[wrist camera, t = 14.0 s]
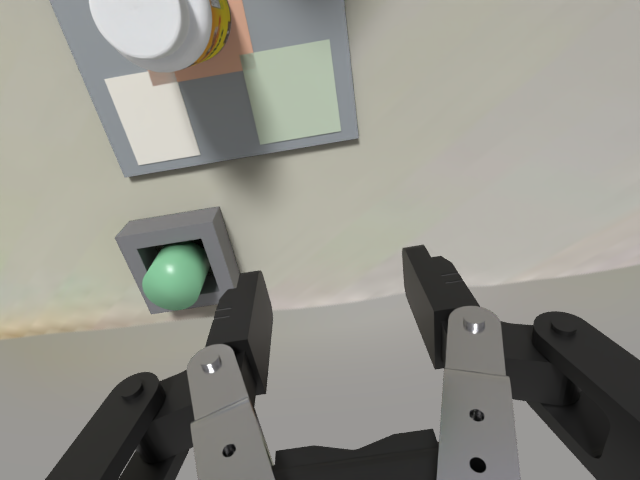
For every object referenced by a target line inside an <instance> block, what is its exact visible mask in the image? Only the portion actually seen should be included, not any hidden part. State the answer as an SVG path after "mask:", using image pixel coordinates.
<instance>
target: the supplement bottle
mask: <svg viewBox="0 0 640 480" xmlns="http://www.w3.org/2000/svg"><path fill="white" fill-rule="evenodd" d="M89 6H90V11H91V14H92V17H93V20H94V22H95V24H96V26H97V28H98V30H99V31H100V33H101V34H102V35H103V37H104V38H105V39H106V40H107V41H108V42H109V43H110V44H111V45H112V46H113V47H114V48H115V49H116V50H117V51H118V52H119V53H120V54H121V55H122V56H124V57H125V58H126V59H127V60H129V61H130V62H132V63H133V64H135V65H137V66H139V67H141V68H144V69H147V70H150V71H154V72H174V71H178V70H182V69H185V68H187V67H190V66H193V65H195V64H198V63H201V62H204V61H206V60H208V59H211V58H212V57H214V56H215V55H217V54H218V53H219V52H220V51H221V50H222V49H223V47H224V46H225V44H226V42H227V40H228V38H229V35H230V30H231V11H230V6H229V3H228V0H89Z"/></svg>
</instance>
